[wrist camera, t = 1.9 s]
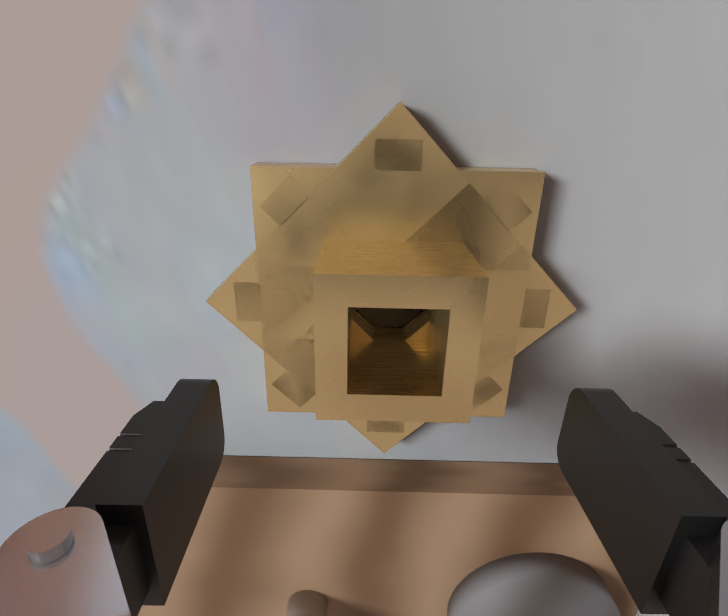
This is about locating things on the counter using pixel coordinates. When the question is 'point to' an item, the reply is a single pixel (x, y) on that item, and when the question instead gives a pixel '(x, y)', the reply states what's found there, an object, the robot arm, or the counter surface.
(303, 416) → the counter surface
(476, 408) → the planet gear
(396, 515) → the wooden peg board
